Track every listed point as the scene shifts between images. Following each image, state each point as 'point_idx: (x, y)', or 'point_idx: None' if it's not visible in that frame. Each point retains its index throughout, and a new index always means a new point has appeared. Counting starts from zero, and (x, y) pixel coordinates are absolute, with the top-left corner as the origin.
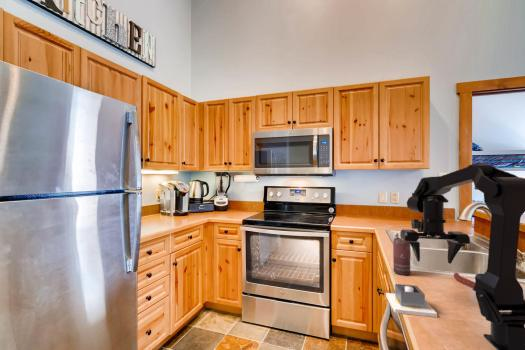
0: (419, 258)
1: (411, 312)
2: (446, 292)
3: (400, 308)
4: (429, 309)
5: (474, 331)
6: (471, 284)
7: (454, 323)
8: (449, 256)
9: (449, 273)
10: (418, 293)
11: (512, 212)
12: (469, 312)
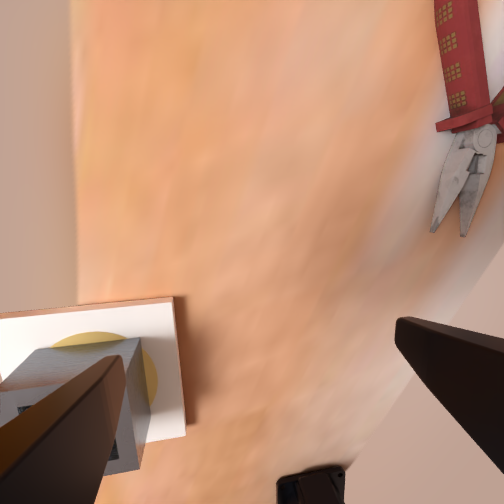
0: (111, 430)
1: None
2: (307, 185)
3: None
4: (167, 416)
5: (266, 462)
6: (461, 90)
7: (228, 441)
8: (453, 379)
9: None
10: (111, 467)
11: None
12: (310, 351)
